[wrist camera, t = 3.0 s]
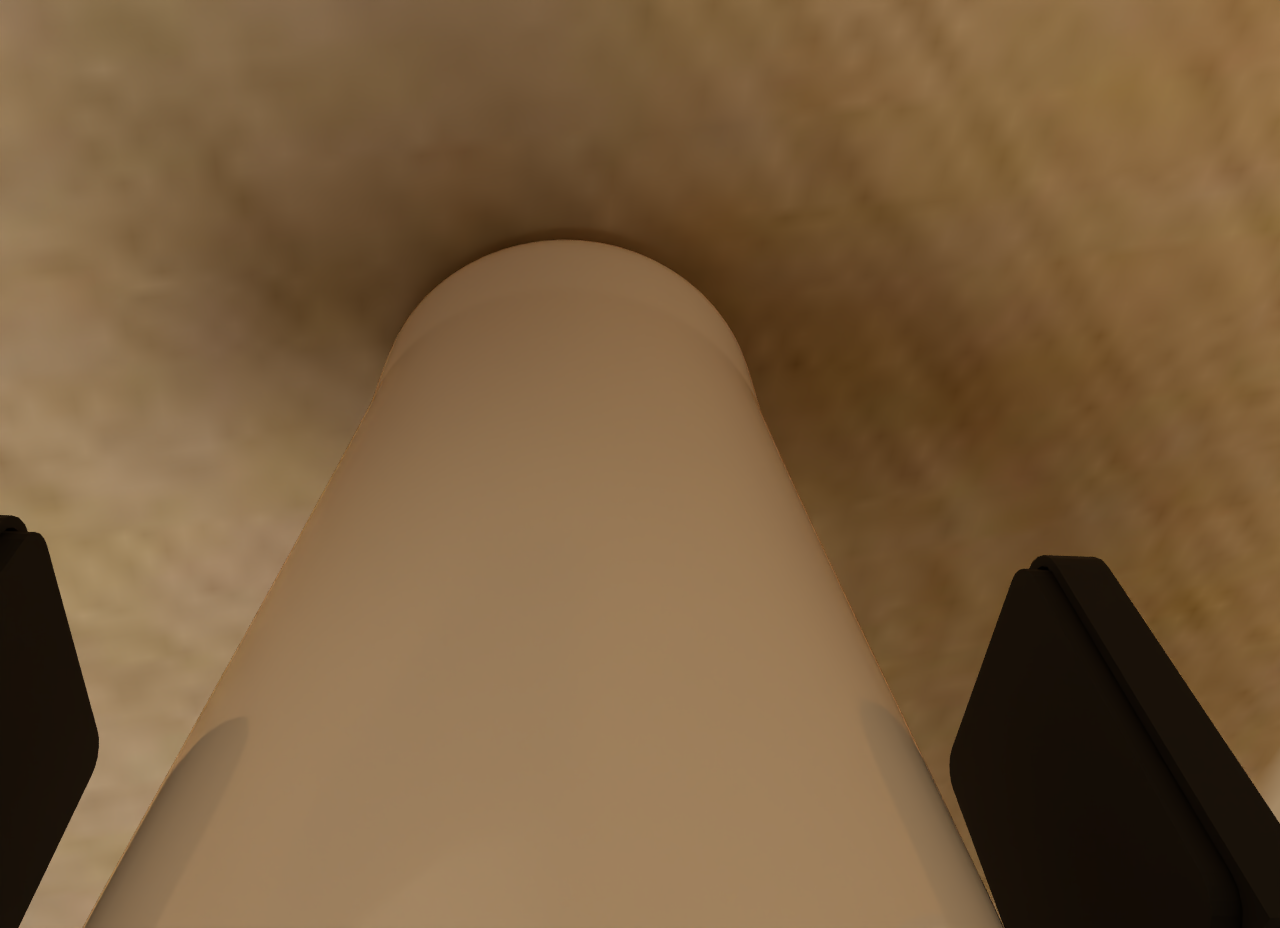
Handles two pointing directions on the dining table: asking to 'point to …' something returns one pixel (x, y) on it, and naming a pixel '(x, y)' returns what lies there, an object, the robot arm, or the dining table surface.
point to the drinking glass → (553, 656)
